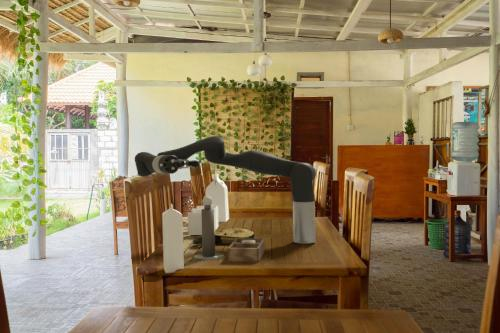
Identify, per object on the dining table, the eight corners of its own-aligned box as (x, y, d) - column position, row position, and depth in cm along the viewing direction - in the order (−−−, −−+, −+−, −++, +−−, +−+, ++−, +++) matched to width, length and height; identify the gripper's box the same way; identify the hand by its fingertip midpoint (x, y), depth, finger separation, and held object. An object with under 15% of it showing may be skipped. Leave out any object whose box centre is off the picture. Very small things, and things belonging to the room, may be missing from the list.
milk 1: (165, 273, 149) (163, 205, 148) (163, 268, 155) (161, 203, 154) (184, 271, 151) (182, 204, 150) (181, 267, 157) (179, 202, 156)
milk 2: (209, 218, 266) (208, 173, 265) (229, 218, 265) (228, 173, 264) (205, 222, 254) (204, 175, 253) (225, 222, 253) (224, 174, 252)
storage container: (211, 235, 214) (211, 212, 213) (188, 236, 214) (187, 212, 214) (218, 226, 239) (218, 205, 238) (197, 227, 239) (197, 206, 239)
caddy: (264, 252, 176) (264, 238, 176) (259, 264, 158) (258, 248, 158) (236, 252, 177) (236, 238, 177) (227, 264, 160) (227, 248, 159)
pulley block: (186, 229, 195) (248, 222, 210) (186, 242, 196) (247, 234, 211) (199, 239, 183) (264, 231, 198) (199, 253, 184) (263, 244, 199)
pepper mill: (216, 254, 171) (214, 195, 170) (213, 257, 166) (212, 196, 165) (204, 254, 171) (202, 195, 170) (201, 256, 167) (199, 196, 166)
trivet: (226, 255, 173) (226, 252, 173) (220, 262, 162) (220, 259, 162) (198, 254, 175) (198, 252, 175) (190, 261, 164) (190, 259, 164)
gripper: (150, 155, 183) (173, 154, 171) (179, 154, 193) (204, 154, 181) (150, 174, 183) (174, 175, 171) (180, 172, 193) (204, 173, 181)
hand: (189, 164), depth 176 cm, fingers open, 8 cm apart
